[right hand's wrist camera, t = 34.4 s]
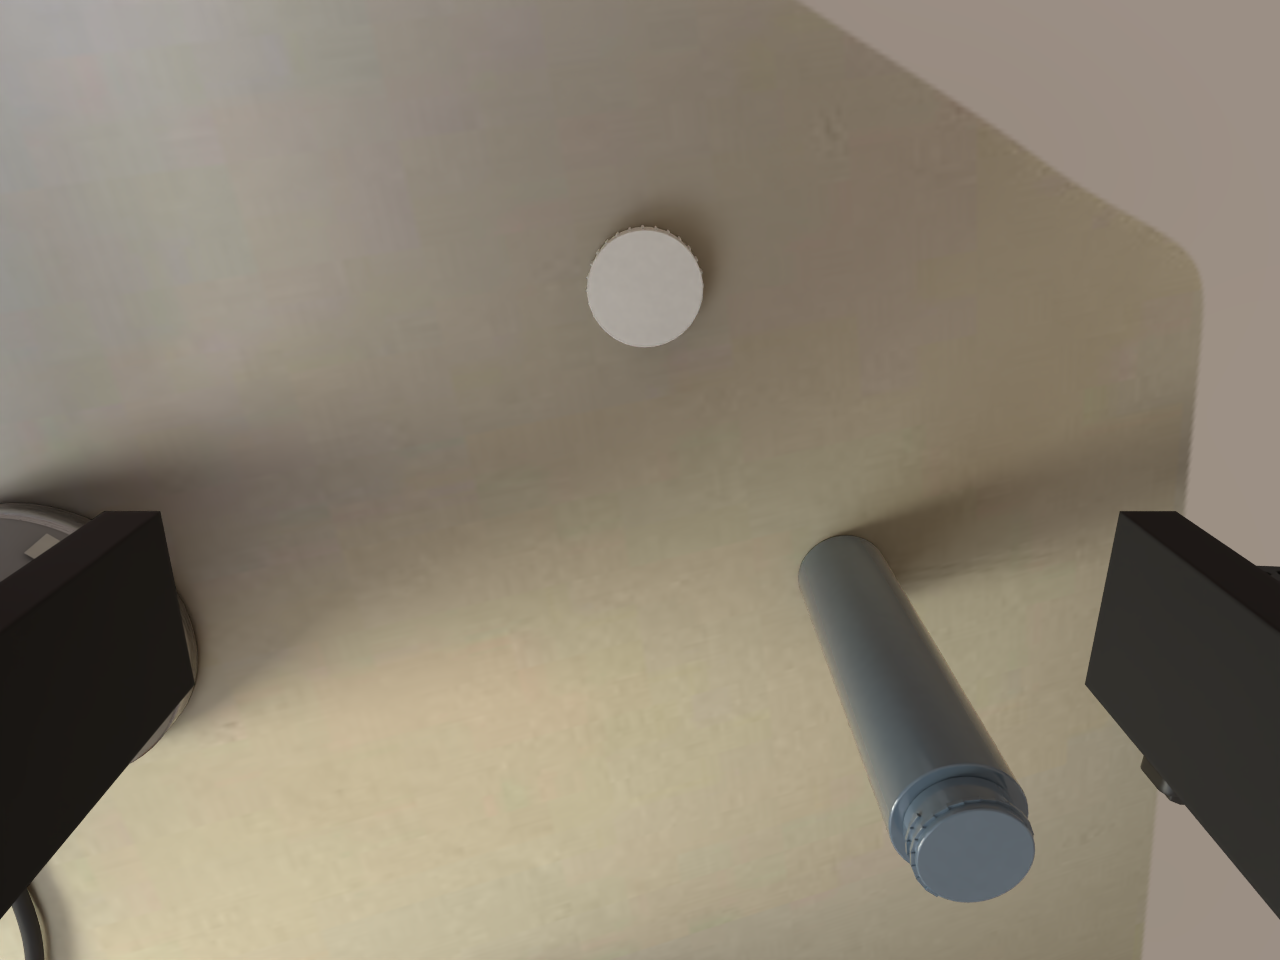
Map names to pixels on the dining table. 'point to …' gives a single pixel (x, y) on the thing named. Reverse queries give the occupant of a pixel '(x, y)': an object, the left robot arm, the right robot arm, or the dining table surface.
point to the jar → (916, 729)
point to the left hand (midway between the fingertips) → (1176, 687)
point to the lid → (645, 286)
